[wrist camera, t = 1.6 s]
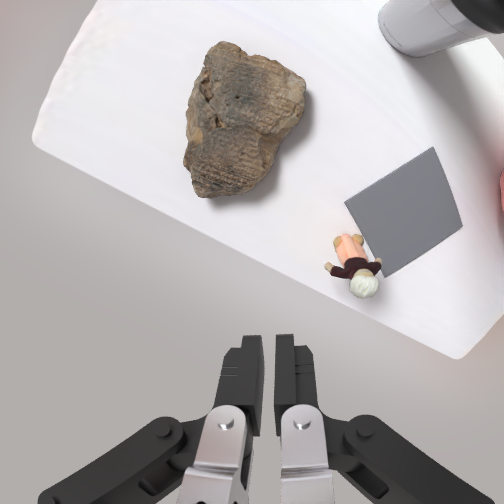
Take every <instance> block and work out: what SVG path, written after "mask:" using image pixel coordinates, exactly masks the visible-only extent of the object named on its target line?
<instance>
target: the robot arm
mask: <svg viewBox="0 0 504 504" xmlns="http://www.w3.org/2000/svg"><path fill="white" fill-rule="evenodd" d="M378 21H379V26H380V29H381V31H382V33H383V35H384V37H385V38H386V39H387V41H388V42H389V43H390V44H391V45H392V46H393V47H394V48H396V49H397V50H399V51H400V52H402V53H404V54H406V55H409V56H413V57H422V56H426V55H429V54H432V53H435V52H438V51H441V50H444V49H447V48H450V47H453V46H456V45H460V44H463V43H466V42H470V41H473V40H477V39H481V38H484V37H488V36H492V35H496V34H500V33H504V0H389V1H388V2H387V3H386V4H385V5H384V6H383V7H382V9H381V10H380V12H379V17H378ZM263 384H264V355H263V346H262V337H261V335H250V336H248V335H247V336H243V339H242V346H241V348H231V349H230V350H229V351H228V352H227V354H226V355H225V356H224V361H223V365H222V370H221V376H220V379H219V384H218V389H217V393H216V398H215V403H214V406H213V408H212V410H211V411H210V412H209V413H208V414H207V415H206V416H204V417H202V418H200V419H198V420H193V421H188V422H182V423H180V422H179V421H178V420H176V419H174V418H172V417H160V418H157V419H155V420H153V421H151V422H150V423H149V424H147V425H146V426H145V427H143V428H142V429H140V430H139V431H138V432H136V433H135V434H133V435H132V436H131V437H129V438H128V439H126V440H125V441H123V442H122V443H120V444H119V445H117V446H116V447H114V448H113V449H111V450H110V451H109V452H107V453H105V454H104V455H102V456H101V457H99V458H98V459H96V460H95V461H93V462H91V463H90V464H88V465H87V466H85V467H84V468H82V469H80V470H79V471H77V472H75V473H74V474H72V475H70V476H69V477H67V478H65V479H64V480H62V481H60V482H59V483H57V484H55V485H54V486H52V487H50V488H48V489H46V490H44V491H43V492H42V493H41V494H40V495H39V498H38V504H156V503H157V502H158V501H160V500H161V499H163V498H164V497H165V496H167V495H168V494H169V493H171V492H172V491H173V490H175V489H176V488H177V487H179V486H180V485H181V488H180V492H179V496H178V499H177V503H176V504H249V496H248V492H249V484H250V476H251V469H252V461H253V454H254V453H253V452H254V451H253V446H252V444H253V436H260V427H261V414H262V399H263ZM274 388H275V389H274V412H275V423H276V434H277V436H280V441H281V451H282V471H281V504H335V501H334V489H333V479H332V472H331V469H332V470H337V471H338V472H339V473H340V474H341V475H342V476H343V477H344V478H345V479H347V480H348V481H349V482H350V483H351V484H352V485H353V486H354V487H355V488H356V489H357V490H359V491H360V492H361V493H362V494H363V495H364V496H365V497H367V498H368V499H369V500H370V501H371V502H372V503H374V504H495V503H494V501H493V500H492V499H490V498H489V497H487V496H486V495H484V494H483V493H481V492H480V491H478V490H477V489H475V488H474V487H472V486H471V485H469V484H468V483H466V482H464V481H463V480H462V479H460V478H458V477H457V476H456V475H454V474H453V473H451V472H450V471H449V470H447V469H446V468H444V467H443V466H441V465H440V464H439V463H437V462H436V461H434V460H433V459H431V458H430V457H429V456H427V455H426V454H425V453H423V452H422V451H421V450H419V449H418V448H417V447H415V446H414V445H413V444H411V443H410V442H409V441H407V440H406V439H404V438H403V437H402V436H401V435H399V434H398V433H397V432H395V431H394V430H393V429H391V428H390V427H389V426H388V425H386V424H385V423H384V422H382V421H381V420H380V419H378V418H377V417H375V416H372V415H360V416H357V417H354V418H353V419H351V420H350V421H349V422H347V421H341V420H336V419H332V418H329V417H327V416H326V415H324V414H323V413H322V412H321V410H320V409H319V406H318V402H317V392H316V382H315V372H314V362H313V354H312V352H311V351H310V349H309V348H308V347H307V346H306V345H305V346H294V336H293V334H282V335H281V334H279V335H276V354H275V387H274Z"/></svg>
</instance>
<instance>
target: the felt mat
mask: <svg viewBox="0 0 504 504" xmlns="http://www.w3.org/2000/svg"><path fill="white" fill-rule="evenodd" d="M344 203H345V204H346V206H347V208H348V209H349V211H350V213H351V215H352V216H353V218H354V220H355V222H356V223H357V225H358V227H359V229H360V231H361V232H362V234H363V236H364V238H365V240H366V242H367V243H368V245H369V247H370V249H371V251H372V253H373V255H374V257H375V259H376V258H381V259H382V267H381V270H382V272H383V274H384V276H385V277H386V276H388V275H389V274H391V273H393V272H394V271H396V270H398V269H399V268H401V267H402V266H404V265H406V264H407V263H409V262H410V261H412V260H414V259H415V258H417V257H418V256H420V255H421V254H423V253H424V252H426V251H427V250H429V249H430V248H432V247H433V246H435V245H436V244H438V243H439V242H441V241H442V240H444V239H445V238H447V237H448V236H449V235H451V234H452V233H454V232H455V231H457V230H458V229H459V228H461V227H462V226H463V225H462V222H461V219H460V215H459V212H458V209H457V206H456V203H455V200H454V197H453V194H452V191H451V189H450V186H449V183H448V181H447V178H446V175H445V173H444V170H443V168H442V166H441V163H440V161H439V158H438V156H437V154H436V152H435V149H434V147H431V148H430V149H428V150H427V151H425V152H423V153H422V154H420V155H419V156H417V157H415V158H414V159H412V160H411V161H409V162H407V163H406V164H404V165H403V166H401V167H400V168H398V169H396V170H395V171H393V172H392V173H390V174H388V175H387V176H385V177H384V178H382V179H380V180H379V181H377V182H376V183H374V184H372V185H371V186H369V187H368V188H366V189H364V190H363V191H361V192H360V193H358V194H356V195H355V196H353V197H351V198H350V199H348V200H347V201H345V202H344Z"/></svg>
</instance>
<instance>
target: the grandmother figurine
mask: <svg viewBox="0 0 504 504" xmlns="http://www.w3.org/2000/svg"><path fill="white" fill-rule="evenodd" d="M333 243H334V247H335V251H336V253H337V255H338V258H339V260H340V262H341V264H342V265H343V267H344V269H343V268H341V267H337V266H334V265H332V264H331V263H329V262H328V263H326V264H325V266H324V267H325V269H326V270H328V271H329V272H330V274H331V275H332V276H335V277H339V278H345V279H347V278H349V279H351V282H350V291H351V292H352V293H353V294H354V295H355V296H357V297H359V298H367V297H372V296H374V295H375V294H376V292H377V290H378V287H379V281H378V279H377V278H376V277H374V276H375V275H376V274H377V273H378V271H379V270H380V269H381V267H382V259H381V258H376V259H375V262H369V263H368V258H367V256H366V254H365V252H364V250H363V248H362V246H361V245H362V243H363V237H362V236H361V235H358V234H356V235H353V236H352V237H351V236H350V235H348V234H343V235H341V236H339V237H336V238H335V239H334V242H333Z"/></svg>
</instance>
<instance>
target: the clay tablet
mask: <svg viewBox="0 0 504 504" xmlns="http://www.w3.org/2000/svg"><path fill="white" fill-rule="evenodd" d="M204 65H205V68H204V67H203V68H202V71H201V73H200V75H199V76H198V77H197V79H196V80H195V83H194V88H193V90H192V93H191V96H190V98H189V101H188V106H189V108H188V109H187V111H186V117H187V128H186V136H187V139H188V147H187V149H186V152H185V156H184V159H183V165H184V166H185V167H186V168H187V170H188V171H189V172H190V173H191V178H192V185H193V187H194V191H195V193H196V194H197V195H198V197H201V198H214V197H217V196H219V195H228V196H231V195H239V194H243V193H245V192H247V191H249V190H251V189H253V187H254V186H255V185H256V183H257V182H260V181H261V180H262V179H263V178H264V177H265V176H266V174H267V173H268V172H269V170H270V168H271V166H272V165H273V163H274V158H275V156H276V154H277V152H278V149H279V145H280V143H281V142H282V141H283V139H284V138H285V136H286V135H287V134H288V133H289V132H290V131H291V129H292V126H294V125H297V124H298V122H299V120H300V119H301V116H302V114H303V112H304V105H305V98H304V92H305V90H306V82H305V80H304V79H303V78H302V77H300V76H298V75H297V74H295V73H294V72H292V71H291V70H289V69H287V68H286V67H284V66H283V65H281V64H280V63H279V62H277V61H276V60H270V59H268V58H266V57H264V56H260V55H253V56H247V53H246V52H245V51H243V50H241V48H240V47H238V46H237V45H235V44H232V43H229V42H225V41H221V42H219V43H218V44H217V45H215V46H213V47H211V49H210V50H209V51H208V53H207V55H206V56H205V60H204Z"/></svg>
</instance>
